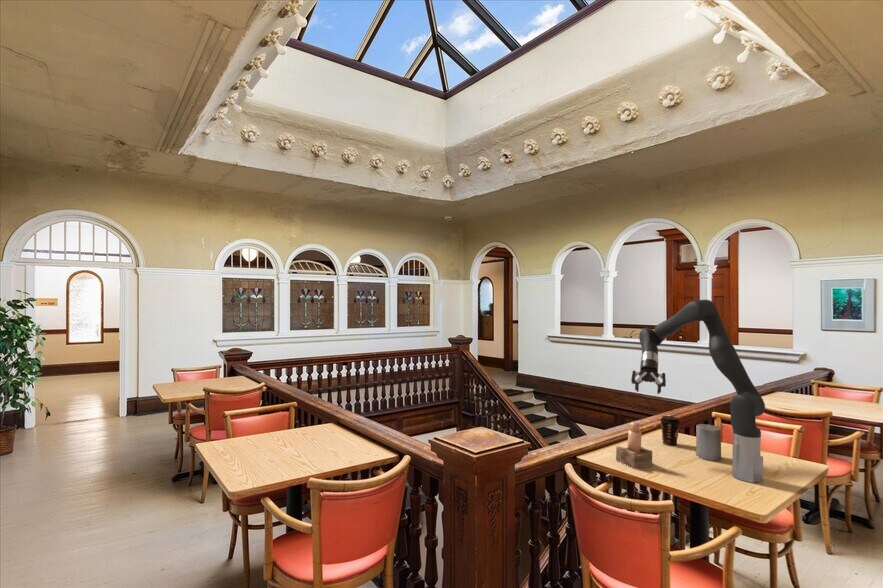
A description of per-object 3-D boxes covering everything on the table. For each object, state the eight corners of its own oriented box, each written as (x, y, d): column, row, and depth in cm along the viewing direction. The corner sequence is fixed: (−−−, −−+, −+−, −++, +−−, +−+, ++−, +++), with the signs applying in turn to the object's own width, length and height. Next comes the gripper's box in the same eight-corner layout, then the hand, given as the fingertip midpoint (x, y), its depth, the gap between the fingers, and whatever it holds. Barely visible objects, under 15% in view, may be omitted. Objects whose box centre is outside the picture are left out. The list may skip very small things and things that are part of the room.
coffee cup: (675, 441, 227) (676, 415, 227) (682, 447, 219) (683, 420, 219) (657, 441, 228) (657, 414, 228) (663, 446, 220) (664, 419, 220)
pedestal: (652, 465, 193) (652, 451, 193) (634, 468, 189) (634, 453, 189) (633, 458, 202) (633, 443, 202) (616, 460, 198) (616, 446, 198)
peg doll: (643, 452, 194) (644, 424, 194) (634, 454, 192) (635, 425, 192) (634, 448, 199) (635, 421, 199) (624, 450, 197) (625, 422, 197)
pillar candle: (710, 453, 211) (710, 420, 211) (726, 461, 201) (726, 426, 201) (691, 454, 210) (691, 421, 210) (705, 461, 200) (705, 427, 200)
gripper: (632, 357, 217) (630, 385, 207) (666, 359, 211) (665, 388, 200) (633, 366, 222) (631, 394, 211) (666, 369, 215) (665, 398, 205)
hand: (647, 391), depth 206 cm, fingers open, 8 cm apart
